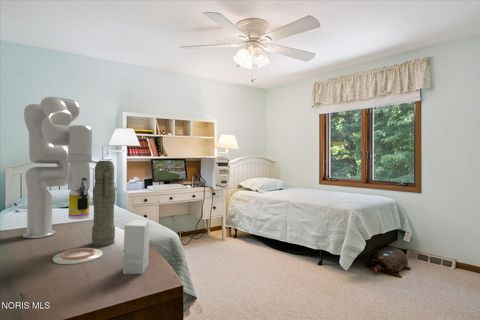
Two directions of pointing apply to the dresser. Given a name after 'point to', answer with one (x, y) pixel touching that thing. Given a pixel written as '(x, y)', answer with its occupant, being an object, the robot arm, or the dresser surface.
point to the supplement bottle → (73, 203)
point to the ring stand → (77, 256)
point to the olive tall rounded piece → (103, 204)
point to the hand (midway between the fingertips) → (79, 207)
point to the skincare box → (136, 247)
